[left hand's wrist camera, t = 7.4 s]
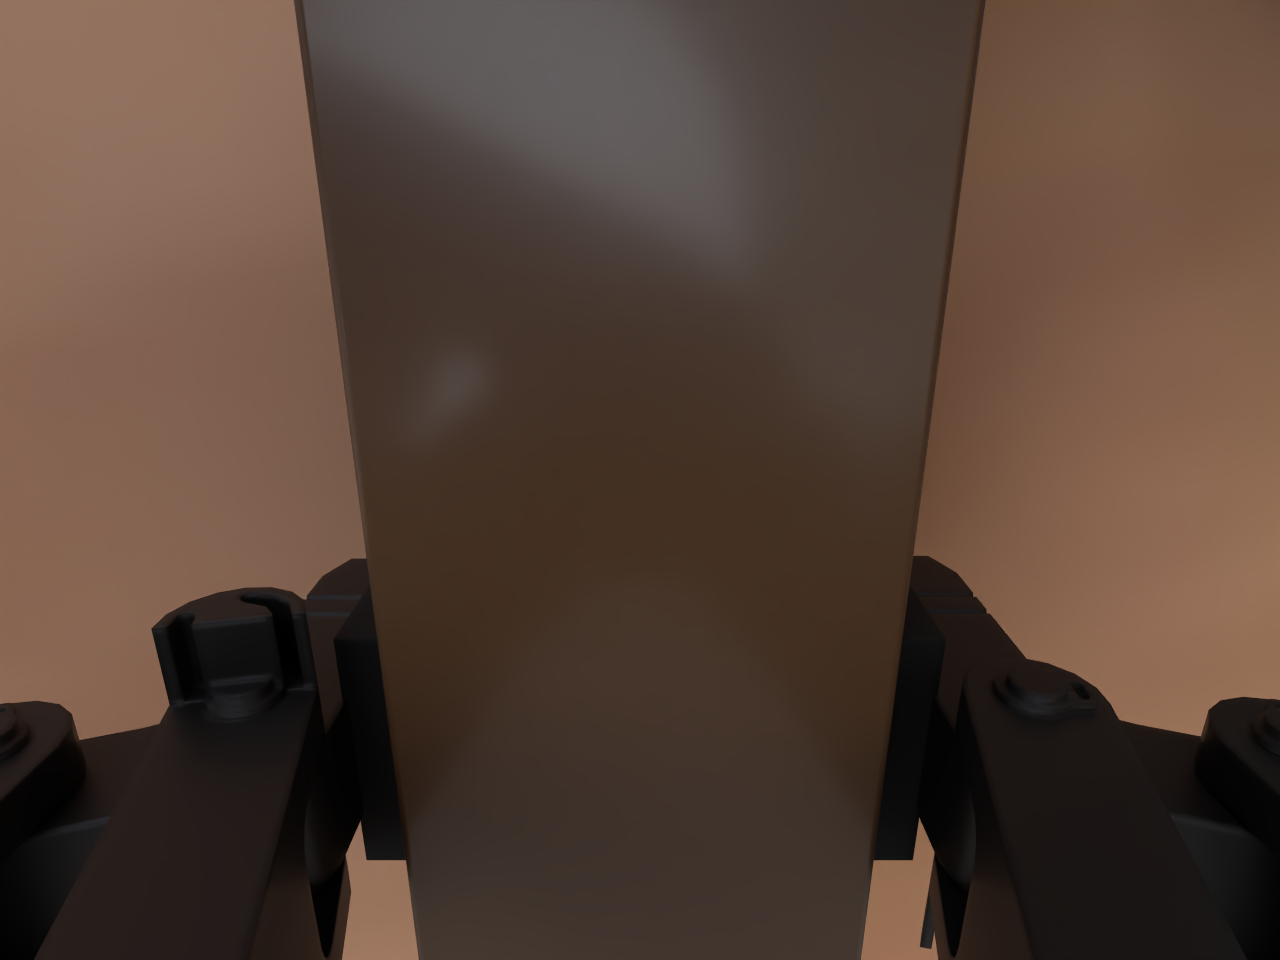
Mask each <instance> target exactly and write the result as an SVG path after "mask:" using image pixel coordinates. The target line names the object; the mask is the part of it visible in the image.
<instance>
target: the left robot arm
mask: <svg viewBox="0 0 1280 960" xmlns="http://www.w3.org/2000/svg"><path fill="white" fill-rule="evenodd" d="M152 633H153V637H154V641H155V646H156V650H157V654H158V658H159V662H160V666H161V670H162V675H163V679H164V683H165V687H166V691H167V695H168V699H169V704H170V705H169V707H168V709H167V711H166V713H165V715H164V717H163V719H162V720H161V722H160V724H158V725H154V726H150V727H146V728H141V729H136V730H131V731H126V732H120V733H115V734H110V735H105V736H100V737H94V738H89V739H84V740H79V737H78V734H77V731H76V727H75V724H74V720H73V717H72V714H71V713H70V712H69V711H67V710H66V709H65V708H64V707H62V706H61V705H60V704H54V703H48V702H41V701H31V702H20V703H5V704H0V960H342V955H343V947H344V940H345V933H346V925H347V918H348V911H349V904H350V896H351V887H350V880H349V872H348V866H347V860H346V852H347V850H348V848H349V846H350V843H351V841H352V839H353V836H354V834H355V832H356V830H357V827H358V825H359V823H360V820H361V826H362V832H363V839H364V845H365V852H366V858H367V860H406V856H405V849H404V841H403V833H402V826H401V818H400V810H399V803H398V795H397V787H396V780H395V772H394V764H393V757H392V749H391V741H390V734H389V726H388V718H387V711H386V703H385V695H384V688H383V680H382V672H381V664H380V657H379V649H378V641H377V634H376V626H375V618H374V611H373V603H372V595H371V588H370V580H369V572H368V565H367V559H350V560H349V561H347V562H345V563H344V564H342V565H340V566H339V567H337V568H335V569H334V570H332V571H330V572H329V573H327V574H325V575H324V576H322V578H321V579H320V580H319V581H318V583H317V584H316V585H315V586H314V588H313V589H312V590H311V591H310V593H309V594H308V595H307V600H303V599H301V598H300V597H299V596H297V595H296V594H295V593H293V592H291V591H286V590H281V589H277V588H272V587H269V588H242V589H236V590H230V591H225V592H219V593H215V594H212V595H209V596H206V597H203V598H200V599H197V600H194V601H191V602H189V603H187V604H185V605H183V606H181V607H179V608H177V609H176V610H174V611H172V612H170V613H168V614H166V615H165V616H164V617H163V618H162V619H161V620H160V621H159V622H158V623H157V624H156V625H155V626H154V627H153V628H152ZM919 818H920V820H921V822H922V824H923V827H924V829H925V831H926V833H927V836H928V838H929V840H930V843H931V845H932V847H933V849H934V852H935V854H934V860H933V866H932V872H931V878H930V885H929V891H928V897H927V903H926V909H925V915H924V921H923V927H922V935H921V942H920V947H923V948H929V949H931V947H932V941H933V935H934V931H935V938H936V946H937V953H938V960H1280V700H1276V699H1260V698H1249V697H1239V698H1233V699H1227V700H1221V701H1219V702H1218V703H1217V704H1216V705H1214V706H1213V707H1212V708H1211V709H1209V711H1208V714H1207V718H1206V721H1205V725H1204V728H1203V731H1202V735H1201V737H1200V736H1195V735H1190V734H1185V733H1179V732H1174V731H1169V730H1163V729H1158V728H1153V727H1148V726H1142V725H1137V724H1133V723H1129V722H1125V721H1121V720H1119V719H1118V717H1117V715H1116V713H1115V712H1114V710H1113V708H1112V706H1111V704H1110V703H1109V702H1108V701H1107V699H1106V698H1105V697H1104V696H1103V695H1102V694H1101V692H1100V691H1099V690H1098V689H1097V688H1096V687H1094V686H1093V685H1091V684H1090V683H1088V682H1087V681H1085V680H1083V679H1082V678H1080V677H1079V676H1077V675H1076V674H1074V673H1071V672H1069V671H1066V670H1064V669H1061V668H1059V667H1056V666H1053V665H1051V664H1048V663H1044V662H1039V661H1034V660H1029V659H1026V658H1025V656H1024V655H1023V654H1022V653H1021V651H1020V650H1019V649H1018V648H1017V646H1016V645H1015V644H1014V643H1013V642H1012V640H1011V639H1010V638H1009V637H1008V635H1007V634H1006V633H1005V632H1004V630H1003V629H1002V628H1001V627H1000V626H999V624H998V623H997V622H996V621H995V619H994V618H993V617H992V616H991V614H987V613H986V608H985V607H984V606H983V605H982V603H981V602H980V601H979V600H978V598H977V597H973V592H972V591H971V590H970V589H969V587H968V586H967V585H966V584H965V582H964V581H963V580H962V579H961V578H960V576H959V575H958V574H957V573H956V572H954V571H953V570H951V569H949V568H948V567H946V566H944V565H942V564H941V563H939V562H937V561H936V560H934V559H932V558H931V557H929V556H913V561H912V569H911V576H910V584H909V592H908V599H907V607H906V615H905V622H904V630H903V638H902V646H901V653H900V661H899V669H898V676H897V684H896V692H895V699H894V707H893V715H892V722H891V730H890V738H889V745H888V753H887V761H886V769H885V776H884V784H883V792H882V799H881V807H880V815H879V822H878V830H877V838H876V845H875V853H874V860H913V855H914V848H915V842H916V835H917V828H918V822H919Z"/></svg>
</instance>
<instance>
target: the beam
mask: <svg viewBox="0 0 1280 960" xmlns="http://www.w3.org/2000/svg"><path fill="white" fill-rule="evenodd" d="M294 4H295V12H296V20H297V27H298V35H299V43H300V50H301V58H302V66H303V73H304V81H305V89H306V96H307V104H308V112H309V119H310V127H311V135H312V142H313V150H314V158H315V165H316V173H317V181H318V188H319V196H320V204H321V211H322V219H323V227H324V235H325V242H326V250H327V258H328V265H329V273H330V281H331V288H332V296H333V304H334V311H335V319H336V327H337V334H338V342H339V350H340V357H341V365H342V373H343V380H344V388H345V396H346V403H347V411H348V419H349V426H350V434H351V442H352V450H353V457H354V465H355V473H356V480H357V488H358V496H359V503H360V511H361V519H362V526H363V534H364V542H365V549H366V557H367V565H368V572H369V580H370V588H371V595H372V603H373V611H374V618H375V626H376V634H377V641H378V649H379V657H380V664H381V672H382V680H383V688H384V695H385V703H386V711H387V718H388V726H389V734H390V741H391V749H392V757H393V764H394V772H395V780H396V787H397V795H398V803H399V810H400V818H401V826H402V833H403V841H404V849H405V856H406V864H407V872H408V879H409V887H410V895H411V902H412V910H413V918H414V926H415V933H416V941H417V949H418V956H419V960H861V953H862V945H863V938H864V930H865V922H866V915H867V907H868V899H869V892H870V884H871V876H872V868H873V861H874V853H875V845H876V838H877V830H878V822H879V815H880V807H881V799H882V792H883V784H884V776H885V769H886V761H887V753H888V745H889V738H890V730H891V722H892V715H893V707H894V699H895V692H896V684H897V676H898V669H899V661H900V653H901V646H902V638H903V630H904V622H905V615H906V607H907V599H908V592H909V584H910V576H911V569H912V561H913V553H914V546H915V538H916V530H917V522H918V515H919V507H920V499H921V492H922V484H923V476H924V469H925V461H926V453H927V446H928V438H929V430H930V423H931V415H932V407H933V399H934V392H935V384H936V376H937V369H938V361H939V353H940V346H941V338H942V330H943V323H944V315H945V307H946V300H947V292H948V284H949V276H950V269H951V261H952V253H953V246H954V238H955V230H956V223H957V215H958V207H959V200H960V192H961V184H962V177H963V169H964V161H965V153H966V146H967V138H968V130H969V123H970V115H971V107H972V100H973V92H974V84H975V77H976V69H977V61H978V54H979V46H980V38H981V30H982V23H983V15H984V7H985V0H294Z"/></svg>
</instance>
